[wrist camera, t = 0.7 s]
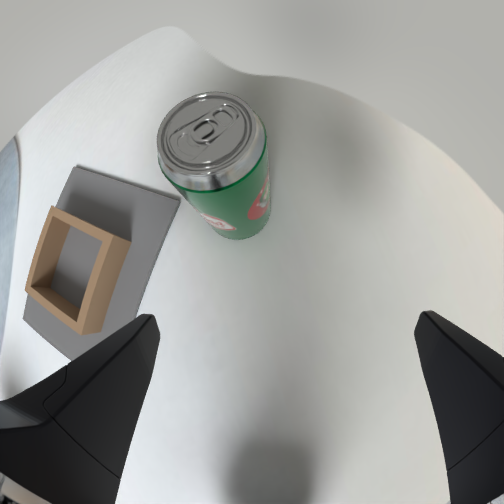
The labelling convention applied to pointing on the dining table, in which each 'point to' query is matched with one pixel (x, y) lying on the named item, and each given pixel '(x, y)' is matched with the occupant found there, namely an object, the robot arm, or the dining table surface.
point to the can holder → (94, 260)
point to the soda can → (218, 161)
